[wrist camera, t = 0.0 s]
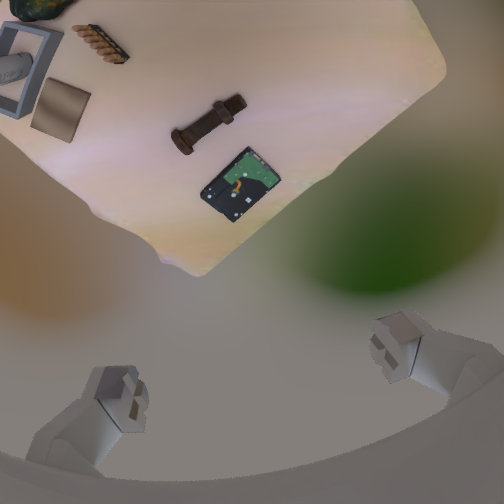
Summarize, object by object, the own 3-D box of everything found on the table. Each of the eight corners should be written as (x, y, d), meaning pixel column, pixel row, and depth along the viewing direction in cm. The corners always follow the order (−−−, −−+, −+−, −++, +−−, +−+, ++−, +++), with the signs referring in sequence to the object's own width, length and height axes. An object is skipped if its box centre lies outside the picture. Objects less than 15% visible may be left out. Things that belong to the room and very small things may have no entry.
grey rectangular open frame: (19, 21, 26) (4, 21, 21) (64, 33, 32) (50, 32, 28) (-9, 96, 34) (-25, 103, 29) (31, 112, 40) (17, 119, 36)
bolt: (242, 100, 52) (181, 142, 55) (231, 84, 47) (167, 130, 50) (255, 115, 49) (190, 160, 53) (244, 99, 45) (175, 147, 48)
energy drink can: (33, 48, 31) (-9, 54, 20) (35, 73, 35) (-7, 85, 24) (12, 58, 31) (-31, 68, 19) (14, 82, 34) (-28, 98, 23)
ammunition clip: (90, 32, 34) (64, 29, 25) (97, 25, 33) (73, 20, 24) (122, 64, 40) (103, 67, 31) (130, 57, 40) (112, 58, 31)
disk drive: (232, 217, 67) (279, 174, 62) (234, 223, 65) (282, 180, 60) (199, 192, 62) (247, 144, 56) (199, 198, 60) (249, 149, 54)
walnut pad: (50, 77, 37) (46, 78, 36) (91, 93, 42) (88, 94, 41) (33, 124, 42) (30, 126, 41) (71, 141, 47) (69, 143, 46)
